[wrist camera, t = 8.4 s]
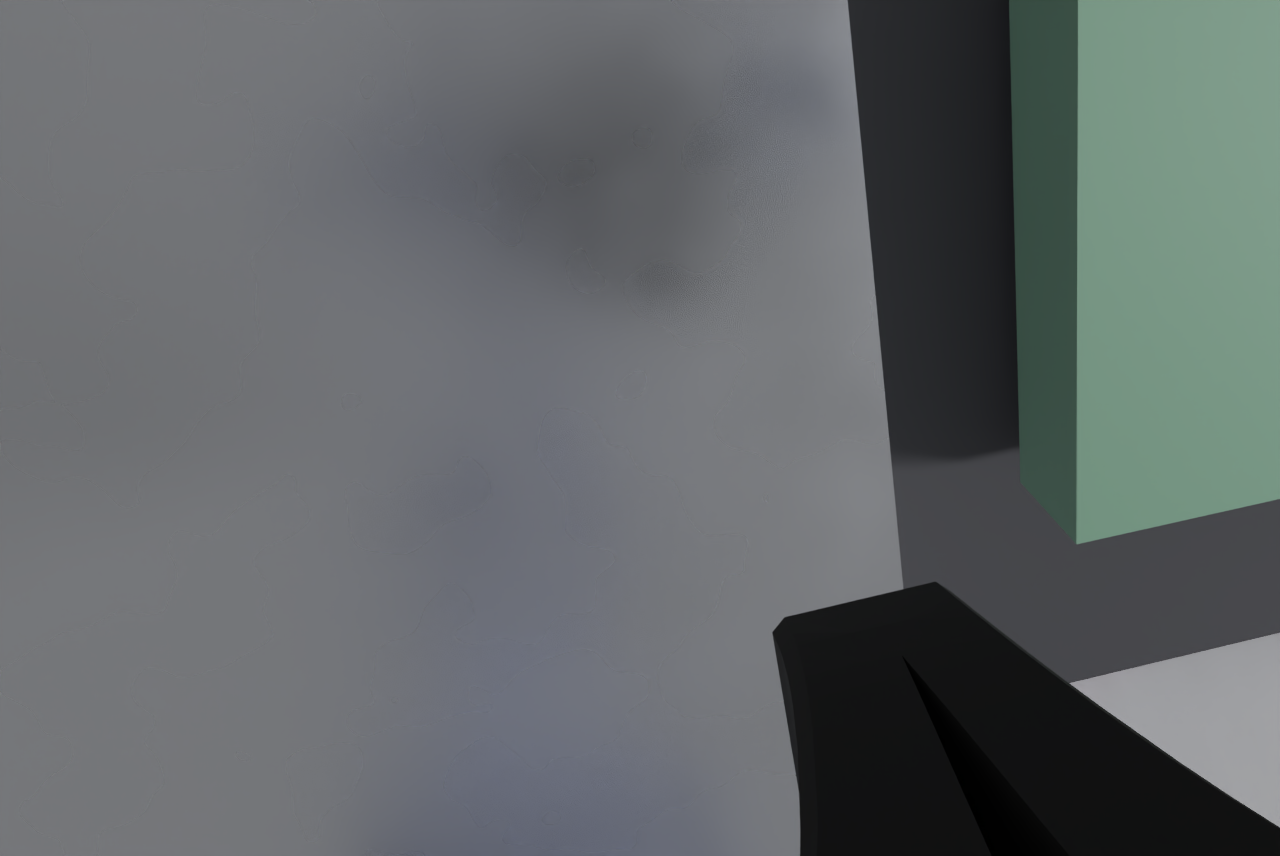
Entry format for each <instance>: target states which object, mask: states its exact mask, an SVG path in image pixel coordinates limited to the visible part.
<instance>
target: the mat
mask: <svg viewBox="0 0 1280 856" xmlns="http://www.w3.org/2000/svg"><path fill="white" fill-rule="evenodd" d="M848 10H849V21H850V31H851V42H852V52H853V63H854V73H855V84H856V94H857V105H858V115H859V126H860V136H861V147H862V158H863V168H864V179H865V189H866V200H867V210H868V221H869V231H870V242H871V252H872V263H873V273H874V284H875V294H876V305H877V316H878V326H879V337H880V347H881V358H882V368H883V379H884V389H885V400H886V410H887V421H888V431H889V442H890V453H891V463H892V474H893V484H894V495H895V505H896V516H897V526H898V537H899V547H900V558H901V568H902V579H903V589H906V588H910V587H914V586H919V585H923V584H927V583H931V582H937V583H939V584H940V585H942V586H943V587H945V588H947V589H948V590H950V591H951V592H952V593H954V594H955V595H956V596H957V597H959V598H960V599H961V600H962V601H964V602H965V603H966V604H967V605H969V606H970V607H971V608H972V609H974V610H975V611H976V612H977V613H979V614H980V615H981V616H983V617H984V618H985V619H986V620H988V621H989V622H990V623H991V624H993V625H994V626H995V627H996V628H998V629H999V630H1000V631H1001V632H1003V633H1004V634H1005V635H1007V636H1008V637H1009V638H1010V639H1012V640H1013V641H1014V642H1016V643H1017V644H1018V645H1019V646H1021V647H1022V648H1023V649H1025V650H1026V651H1027V652H1028V653H1030V654H1031V655H1032V656H1034V657H1035V658H1036V659H1038V660H1039V661H1040V662H1042V663H1043V664H1044V665H1045V666H1047V667H1048V668H1049V669H1051V670H1052V671H1053V672H1055V673H1056V674H1057V675H1059V676H1060V677H1061V678H1063V679H1064V680H1065V681H1067V682H1068V683H1071V682H1075V681H1079V680H1084V679H1088V678H1092V677H1096V676H1100V675H1104V674H1109V673H1113V672H1117V671H1121V670H1125V669H1129V668H1134V667H1138V666H1142V665H1146V664H1150V663H1154V662H1159V661H1163V660H1167V659H1171V658H1175V657H1179V656H1184V655H1188V654H1192V653H1196V652H1200V651H1204V650H1209V649H1213V648H1217V647H1221V646H1225V645H1230V644H1234V643H1238V642H1242V641H1246V640H1250V639H1255V638H1259V637H1263V636H1267V635H1271V634H1275V633H1280V499H1277V500H1273V501H1268V502H1264V503H1259V504H1255V505H1250V506H1246V507H1242V508H1237V509H1233V510H1228V511H1224V512H1219V513H1215V514H1210V515H1206V516H1201V517H1197V518H1192V519H1188V520H1183V521H1179V522H1175V523H1170V524H1166V525H1161V526H1157V527H1152V528H1148V529H1143V530H1139V531H1134V532H1130V533H1125V534H1121V535H1116V536H1112V537H1107V538H1103V539H1099V540H1094V541H1090V542H1085V543H1081V544H1076V543H1075V542H1074V541H1073V540H1072V539H1071V538H1070V537H1069V536H1068V535H1067V533H1066V532H1065V531H1064V530H1063V529H1062V528H1061V527H1060V526H1059V525H1058V524H1057V522H1056V521H1055V520H1054V519H1053V518H1052V517H1051V516H1050V515H1049V514H1048V512H1047V511H1046V510H1045V509H1044V508H1043V507H1042V506H1041V505H1040V504H1039V502H1038V501H1037V500H1036V499H1035V498H1034V497H1033V496H1032V495H1031V494H1030V492H1029V491H1028V490H1027V489H1026V488H1025V487H1024V486H1023V485H1022V484H1021V483H1020V447H1019V404H1018V361H1017V319H1016V276H1015V233H1014V190H1013V147H1012V105H1011V62H1010V19H1009V0H848Z"/></svg>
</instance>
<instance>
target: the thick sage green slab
mask: <svg viewBox="0 0 1280 856" xmlns="http://www.w3.org/2000/svg"><path fill="white" fill-rule="evenodd" d="M1009 19H1010V62H1011V105H1012V147H1013V190H1014V233H1015V276H1016V319H1017V361H1018V404H1019V447H1020V483H1021V484H1022V485H1023V486H1024V487H1025V488H1026V489H1027V490H1028V491H1029V492H1030V494H1031V495H1032V496H1033V497H1034V498H1035V499H1036V500H1037V501H1038V502H1039V504H1040V505H1041V506H1042V507H1043V508H1044V509H1045V510H1046V511H1047V512H1048V514H1049V515H1050V516H1051V517H1052V518H1053V519H1054V520H1055V521H1056V522H1057V524H1058V525H1059V526H1060V527H1061V528H1062V529H1063V530H1064V531H1065V532H1066V533H1067V535H1068V536H1069V537H1070V538H1071V539H1072V540H1073V541H1074V542H1075V543H1076V544H1081V543H1085V542H1090V541H1094V540H1099V539H1103V538H1107V537H1112V536H1116V535H1121V534H1125V533H1130V532H1134V531H1139V530H1143V529H1148V528H1152V527H1157V526H1161V525H1166V524H1170V523H1175V522H1179V521H1183V520H1188V519H1192V518H1197V517H1201V516H1206V515H1210V514H1215V513H1219V512H1224V511H1228V510H1233V509H1237V508H1242V507H1246V506H1250V505H1255V504H1259V503H1264V502H1268V501H1273V500H1277V499H1280V0H1009Z"/></svg>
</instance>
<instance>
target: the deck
mask: <svg viewBox="0 0 1280 856" xmlns="http://www.w3.org/2000/svg"><path fill="white" fill-rule="evenodd" d="M902 589H903V579H902V568H901V558H900V547H899V537H898V526H897V516H896V505H895V495H894V484H893V474H892V463H891V453H890V442H889V431H888V421H887V410H886V400H885V389H884V379H883V368H882V358H881V347H880V337H879V326H878V316H877V305H876V294H875V284H874V273H873V263H872V252H871V242H870V231H869V221H868V210H867V200H866V189H865V179H864V168H863V158H862V147H861V136H860V126H859V115H858V105H857V94H856V84H855V73H854V63H853V52H852V42H851V31H850V21H849V10H848V0H0V856H800V805H799V790H798V784H797V778H796V772H795V766H794V760H793V754H792V748H791V742H790V736H789V730H788V724H787V718H786V712H785V706H784V700H783V694H782V688H781V682H780V676H779V670H778V664H777V658H776V652H775V646H774V640H773V634H772V632H773V631H774V629H775V628H776V627H777V626H778V625H779V623H780V622H781V621H782V620H783V618H784V617H787V616H792V615H796V614H800V613H804V612H809V611H813V610H817V609H821V608H826V607H830V606H834V605H838V604H842V603H847V602H851V601H855V600H859V599H864V598H868V597H872V596H876V595H881V594H885V593H889V592H893V591H897V590H902Z"/></svg>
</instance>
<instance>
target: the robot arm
mask: <svg viewBox="0 0 1280 856" xmlns="http://www.w3.org/2000/svg"><path fill="white" fill-rule="evenodd" d="M772 634H773V640H774V646H775V652H776V658H777V664H778V670H779V676H780V682H781V688H782V694H783V700H784V706H785V712H786V718H787V724H788V730H789V736H790V742H791V748H792V754H793V760H794V766H795V772H796V778H797V784H798V790H799V805H800V856H1280V828H1279V827H1278V826H1276V825H1275V824H1273V823H1272V822H1270V821H1268V820H1267V819H1265V818H1264V817H1262V816H1261V815H1259V814H1257V813H1256V812H1254V811H1253V810H1251V809H1250V808H1248V807H1246V806H1245V805H1243V804H1242V803H1240V802H1239V801H1237V800H1235V799H1234V798H1232V797H1231V796H1229V795H1228V794H1226V793H1225V792H1223V791H1222V790H1220V789H1219V788H1217V787H1216V786H1214V785H1213V784H1211V783H1210V782H1208V781H1207V780H1205V779H1204V778H1202V777H1201V776H1199V775H1198V774H1196V773H1195V772H1193V771H1192V770H1190V769H1189V768H1187V767H1186V766H1184V765H1183V764H1181V763H1180V762H1178V761H1177V760H1176V759H1174V758H1173V757H1171V756H1170V755H1168V754H1167V753H1166V752H1164V751H1163V750H1161V749H1160V748H1159V747H1157V746H1156V745H1154V744H1153V743H1151V742H1150V741H1149V740H1147V739H1146V738H1144V737H1143V736H1141V735H1140V734H1139V733H1137V732H1136V731H1134V730H1133V729H1132V728H1130V727H1129V726H1127V725H1126V724H1124V723H1123V722H1122V721H1120V720H1119V719H1117V718H1116V717H1114V716H1113V715H1112V714H1110V713H1109V712H1107V711H1106V710H1105V709H1103V708H1102V707H1100V706H1099V705H1098V704H1096V703H1095V702H1094V701H1092V700H1091V699H1090V698H1088V697H1087V696H1085V695H1084V694H1083V693H1081V692H1080V691H1079V690H1077V689H1076V688H1075V687H1073V686H1072V685H1071V684H1069V683H1068V682H1067V681H1065V680H1064V679H1063V678H1061V677H1060V676H1059V675H1057V674H1056V673H1055V672H1053V671H1052V670H1051V669H1049V668H1048V667H1047V666H1045V665H1044V664H1043V663H1042V662H1040V661H1039V660H1038V659H1036V658H1035V657H1034V656H1032V655H1031V654H1030V653H1028V652H1027V651H1026V650H1025V649H1023V648H1022V647H1021V646H1019V645H1018V644H1017V643H1016V642H1014V641H1013V640H1012V639H1010V638H1009V637H1008V636H1007V635H1005V634H1004V633H1003V632H1001V631H1000V630H999V629H998V628H996V627H995V626H994V625H993V624H991V623H990V622H989V621H988V620H986V619H985V618H984V617H983V616H981V615H980V614H979V613H977V612H976V611H975V610H974V609H972V608H971V607H970V606H969V605H967V604H966V603H965V602H964V601H962V600H961V599H960V598H959V597H957V596H956V595H955V594H954V593H952V592H951V591H950V590H948V589H947V588H945V587H943V586H942V585H940V584H939V583H937V582H931V583H927V584H923V585H919V586H914V587H910V588H906V589H902V590H897V591H893V592H889V593H885V594H881V595H876V596H872V597H868V598H864V599H859V600H855V601H851V602H847V603H842V604H838V605H834V606H830V607H826V608H821V609H817V610H813V611H809V612H804V613H800V614H796V615H792V616H787V617H784V618H783V620H782V621H781V622H780V623H779V625H778V626H777V627H776V628H775V629H774V631H773V632H772Z"/></svg>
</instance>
